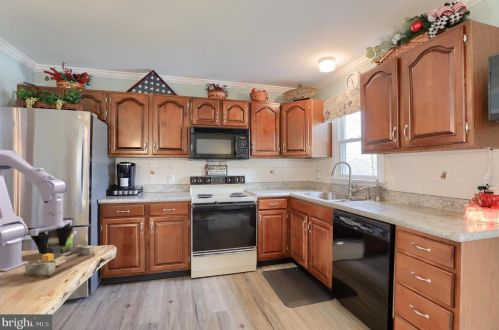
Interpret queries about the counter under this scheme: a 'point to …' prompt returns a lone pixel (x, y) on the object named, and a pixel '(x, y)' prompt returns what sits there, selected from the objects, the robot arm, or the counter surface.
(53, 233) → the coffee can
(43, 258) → the button
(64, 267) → the rail board
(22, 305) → the counter surface
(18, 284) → the counter surface
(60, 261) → the carriage
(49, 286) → the counter surface
